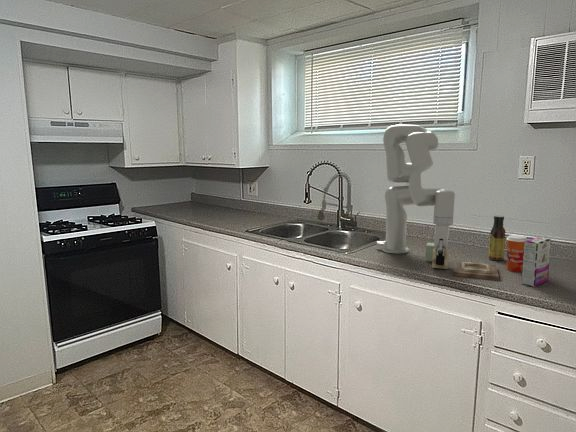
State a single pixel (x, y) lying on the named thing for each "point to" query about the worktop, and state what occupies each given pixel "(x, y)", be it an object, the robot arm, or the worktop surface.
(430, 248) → the sage block
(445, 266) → the maple block
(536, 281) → the candy bar box
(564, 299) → the worktop surface
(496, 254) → the sauce bottle
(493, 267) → the base plate
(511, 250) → the paper cup
